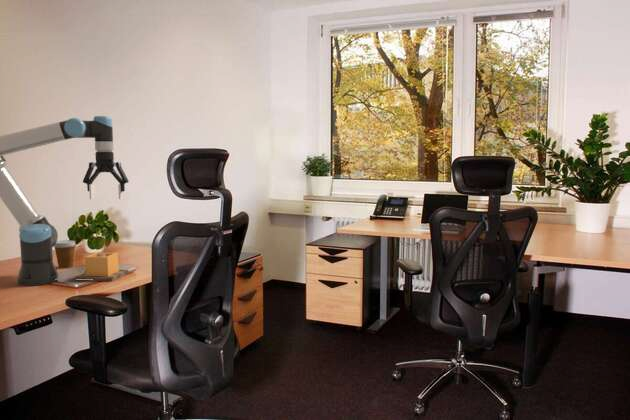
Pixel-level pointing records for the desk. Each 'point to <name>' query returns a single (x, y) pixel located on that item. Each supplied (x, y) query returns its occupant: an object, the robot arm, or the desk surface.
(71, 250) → the disposable coffee cup
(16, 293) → the desk surface
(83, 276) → the keeper
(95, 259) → the open cardboard box
